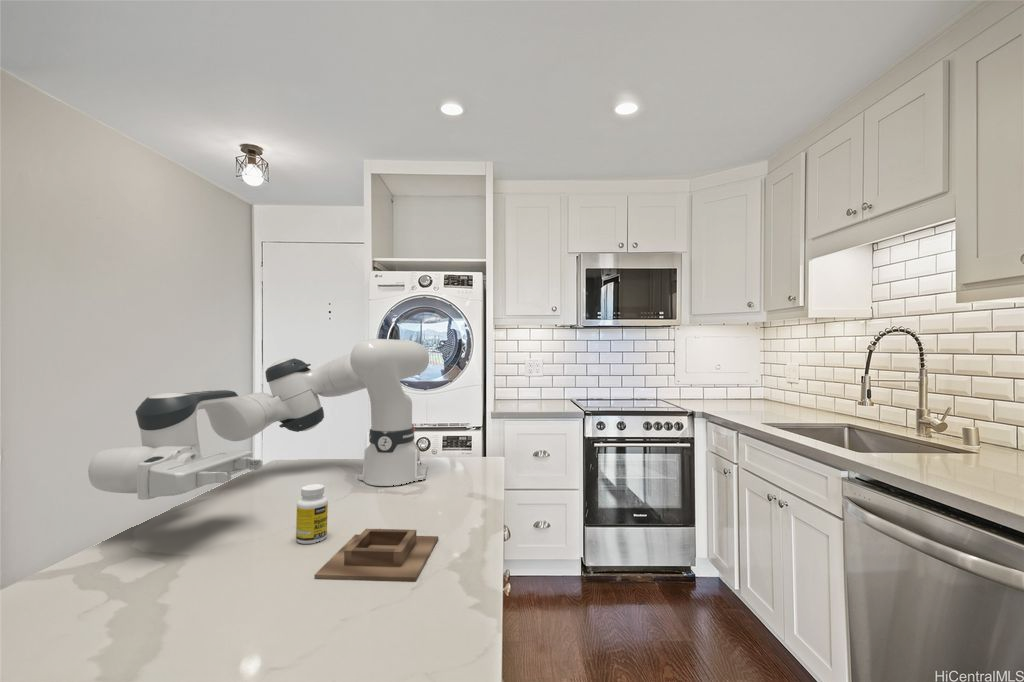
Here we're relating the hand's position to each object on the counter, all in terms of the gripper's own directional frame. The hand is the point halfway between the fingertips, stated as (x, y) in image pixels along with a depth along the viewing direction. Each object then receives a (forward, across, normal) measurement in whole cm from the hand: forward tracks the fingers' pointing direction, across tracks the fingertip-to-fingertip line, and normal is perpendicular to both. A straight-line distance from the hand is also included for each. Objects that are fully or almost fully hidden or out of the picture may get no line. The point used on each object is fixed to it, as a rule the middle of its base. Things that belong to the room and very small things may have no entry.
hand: (245, 470), depth 88 cm
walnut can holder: (+29, +6, -13) cm, 32 cm away
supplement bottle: (+13, -1, -13) cm, 18 cm away
